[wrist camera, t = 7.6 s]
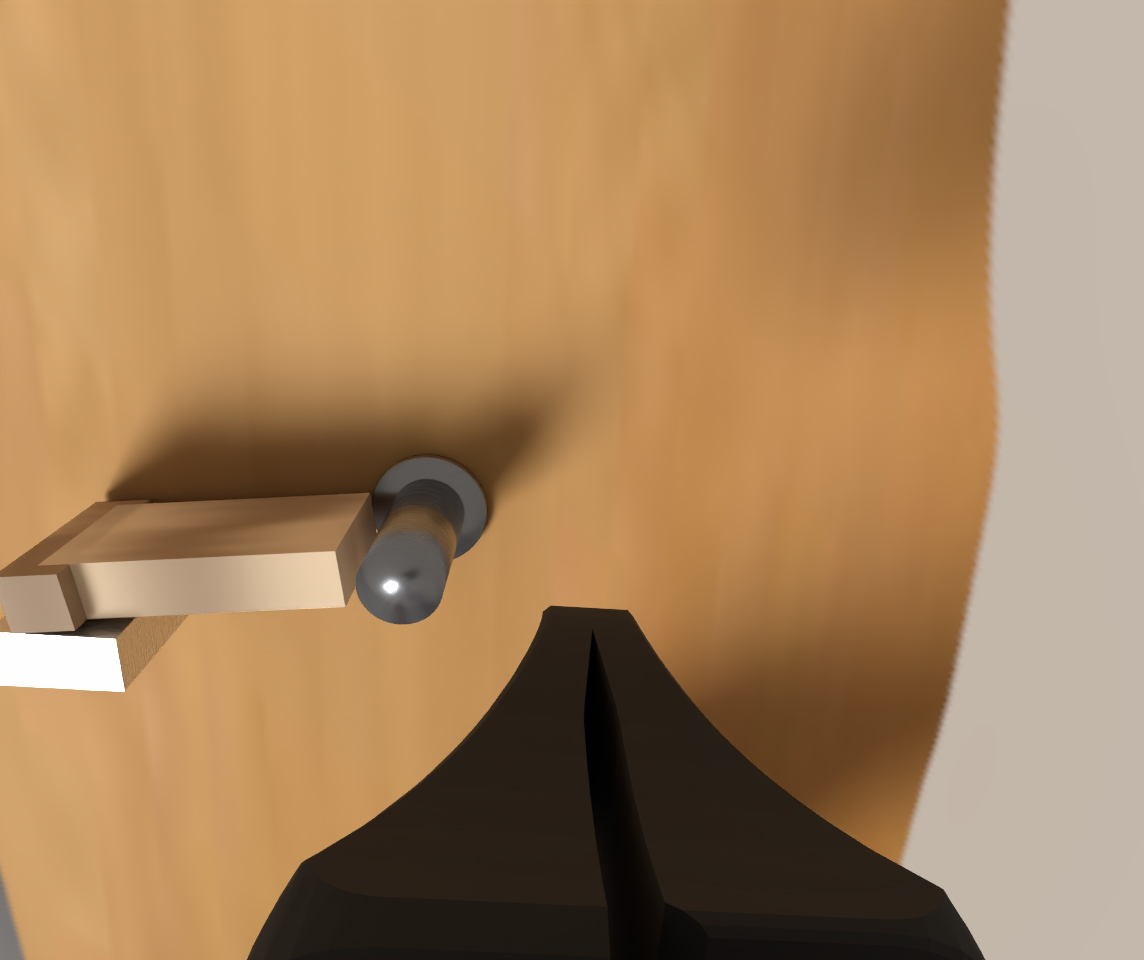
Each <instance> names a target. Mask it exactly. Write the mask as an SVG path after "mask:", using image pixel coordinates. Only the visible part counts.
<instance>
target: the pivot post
mask: <svg viewBox="0 0 1144 960" xmlns="http://www.w3.org/2000/svg"><path fill="white" fill-rule="evenodd" d="M372 508H373V514H374V520H375V526H376V529H377V530H378V533H377V535H376V537H375V539H374V541H373V543H372V544H371V546H370V548H369V550H368V552H367V554H366V556H365V558H364V560H363V562H362V564H361V566H360V568H359V570H358V573H357V576H356V591H357V595H358V597H359V599H360V601H361V603H362V604H363V605H364V607H365V608H366V609H367V610H368V611H369V612H370V613H371V614H373V615H374V616H376V617H377V618H379V619H381V620H383V621H386V622H389V623H394V624H411V623H416V622H419V621H421V620H423V619H425V618H427V617H428V616H430V615H431V614H432V613H433V612H434V611H435V610H436V609H437V607H438V605H439V604H440V601H441V599H442V595H443V592H444V588H445V585H446V581H447V578H448V574H449V571H450V567H451V564H452V560H453V559H454V558H457V557H459V556H461V555H463V554H464V553H466V552H467V551H468V550H470V549H471V548H472V547H473V546H474V545H475V543H476V542H477V541H478V539H479V538H480V536H481V534H482V532H483V530H484V526H485V522H486V518H487V502H486V497H485V494H484V491H483V489H482V487H481V485H480V483H479V482H478V480H477V479H476V477H475V476H474V475H473V474H472V473H471V472H470V471H469V470H468V469H467V468H465V467H464V466H462V465H461V464H459V463H458V462H456V461H454V460H451V459H449V458H446V457H442V456H438V455H416V456H412V457H408V458H406V459H403V460H401V461H399V462H398V463H396V464H394V465H393V466H392V467H390V468H389V469H388V470H387V471H386V472H385V474H384V475H383V476H382V478H381V479H380V481H379V483H378V485H377V486H376V488H375V491H374V494H373V498H372Z"/></svg>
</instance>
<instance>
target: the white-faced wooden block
mask: <svg viewBox="0 0 1144 960" xmlns="http://www.w3.org/2000/svg"><path fill="white" fill-rule="evenodd" d="M188 615H189V614H186V615H165V616H144V617H123V618H102V619H87V620H86V621H85V622H84V623H83V624H82V625H81V626H80V627H79V628H77V629H76V630H75V631H58V632H37V633H15V634H14V633H12V632H11V630H10V627H9V624H8V622H7V619H6V616H5V617H4V618H2V619H1V620H0V685H12V686H31V687H50V688H69V689H87V690H106V691H125V690H126V689H127V688H128V687H129V685H130V684H131V683H132V682H133V681H134V679H135V678H136V677H137V676H138V675H139V673H140V672H141V671H142V670H143V669H144V667H145V666H146V665H147V664H148V663H149V662H150V660H151V659H152V658H153V657H154V656H155V654H156V653H157V652H158V651H159V650H160V648H161V647H162V646H163V645H164V644H165V642H166V641H167V640H168V639H169V638H170V636H171V635H172V634H173V633H174V632H175V631H176V629H177V628H178V627H179V626H180V625H181V623H182V622H183V621H184V620H185V619H186V617H187V616H188Z"/></svg>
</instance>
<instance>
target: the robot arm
mask: <svg viewBox="0 0 1144 960" xmlns="http://www.w3.org/2000/svg"><path fill="white" fill-rule="evenodd" d="M247 960H985V959H984V957H983V954H982V952H981V951H980V949H979V947H978V945H977V943H976V942H975V940H974V938H973V936H972V935H971V933H970V931H969V929H968V927H967V926H966V924H965V923H964V921H963V920H962V918H961V917H960V915H959V914H958V912H957V910H956V909H955V907H954V906H953V904H952V903H951V901H950V900H949V898H948V896H947V895H946V893H945V891H944V890H943V889H941V888H940V887H938V886H936V885H935V884H933V883H931V882H929V881H927V880H925V879H924V878H922V877H920V876H918V875H916V874H915V873H913V872H911V871H909V870H907V869H906V868H904V867H902V866H900V865H898V864H896V863H895V862H893V861H891V860H889V859H887V858H886V857H884V856H882V855H880V854H878V853H876V852H875V851H873V850H871V849H869V848H868V847H866V846H865V845H863V844H861V843H860V842H858V841H857V840H855V839H854V838H852V837H851V836H849V835H847V834H846V833H844V832H843V831H841V830H840V829H838V828H837V827H835V826H834V825H832V824H830V823H829V822H827V821H826V820H824V819H823V818H822V817H820V816H819V815H817V814H816V813H815V812H813V811H812V810H810V809H809V808H807V807H806V806H805V805H803V804H802V803H801V802H799V801H798V800H797V799H795V798H794V797H793V796H792V795H790V794H789V793H788V792H786V791H785V790H784V789H783V788H781V787H780V786H779V785H777V784H776V783H775V782H774V781H772V780H771V779H770V778H769V777H767V776H766V775H765V774H764V773H763V772H761V771H760V770H759V769H758V768H757V767H756V766H754V765H753V764H752V763H751V762H750V761H749V760H748V759H747V758H746V757H745V756H744V755H742V754H741V753H740V752H739V751H738V750H737V749H736V748H735V747H734V746H733V745H732V744H731V743H730V742H729V741H728V740H727V739H726V738H724V737H723V736H722V735H721V734H720V732H719V731H718V730H717V729H716V728H715V727H714V726H713V725H712V724H711V723H710V722H709V720H708V719H707V718H706V717H705V716H704V715H703V713H702V712H701V711H700V710H699V709H698V708H697V707H696V705H695V704H694V703H693V702H692V701H691V699H690V698H689V697H688V696H687V694H686V693H685V692H684V691H683V689H682V688H681V687H680V685H679V684H678V683H677V681H676V680H675V679H674V677H673V676H672V675H671V673H670V672H669V671H668V669H667V668H666V667H665V665H664V664H663V662H662V661H661V660H660V658H659V657H658V655H657V654H656V652H655V651H654V649H653V648H652V646H651V645H650V643H649V642H648V640H647V639H646V637H645V635H644V634H643V632H642V631H641V629H640V627H639V626H638V624H637V622H636V620H635V619H634V617H633V616H632V615H631V614H630V612H629V611H628V610H616V609H599V608H581V607H564V606H550V607H548V608H547V609H546V610H545V611H543V615H542V620H541V623H540V625H539V628H538V631H537V633H536V635H535V637H534V639H533V641H532V643H531V645H530V647H529V649H528V651H527V653H526V655H525V656H524V658H523V660H522V661H521V663H520V665H519V666H518V668H517V670H516V672H515V673H514V675H513V676H512V678H511V680H510V681H509V683H508V684H507V685H506V687H505V688H504V690H503V691H502V692H501V694H500V695H499V696H498V698H497V699H496V701H495V702H494V703H493V705H492V706H491V708H490V709H489V710H488V712H487V713H486V714H485V715H484V716H483V718H482V719H481V720H480V721H479V723H478V724H477V725H476V726H475V727H474V729H473V730H472V731H471V732H470V733H469V734H468V735H467V736H466V737H465V739H464V740H463V741H462V742H461V743H460V744H459V745H458V746H457V747H456V748H455V749H454V750H453V751H452V752H451V753H450V754H449V755H448V756H447V757H446V758H445V759H444V760H443V761H442V762H441V763H440V764H439V765H438V766H437V767H436V768H435V769H434V770H433V771H432V772H431V773H429V774H428V775H427V776H426V777H425V778H424V779H423V780H422V781H421V782H419V783H418V784H417V785H416V786H415V787H414V788H412V789H411V790H410V791H408V792H407V793H406V794H405V795H403V796H402V797H401V798H399V799H398V800H397V801H396V802H394V803H393V804H392V805H390V806H389V807H388V808H386V809H385V810H384V811H383V812H381V813H380V814H379V815H377V816H376V817H375V818H374V819H372V820H371V821H369V822H368V823H366V824H365V825H364V826H362V827H361V828H359V829H357V830H356V831H354V832H352V833H351V834H349V835H347V836H346V837H344V838H342V839H341V840H339V841H337V842H336V843H334V844H332V845H331V846H329V847H328V848H326V849H324V850H323V851H321V852H319V853H318V854H316V855H314V856H312V857H310V858H308V859H307V860H305V861H304V862H302V863H301V864H300V866H299V867H298V869H297V870H296V872H295V873H294V875H293V877H292V878H291V880H290V881H289V883H288V885H287V886H286V888H285V889H284V891H283V893H282V894H281V896H280V897H279V899H278V901H277V903H276V904H275V906H274V908H273V910H272V912H271V913H270V915H269V917H268V919H267V920H266V922H265V924H264V926H263V928H262V930H261V932H260V933H259V935H258V937H257V939H256V941H255V943H254V945H253V947H252V949H251V952H250V954H249V956H248V959H247Z"/></svg>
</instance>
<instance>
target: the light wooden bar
mask: <svg viewBox="0 0 1144 960" xmlns="http://www.w3.org/2000/svg"><path fill="white" fill-rule="evenodd" d="M376 535H377V533H376V527H375V520H374V514H373V508H372V502H371V495H370V493H353V494H333V495H313V496H293V497H272V498H252V499H232V500H212V501H191V502H171V503H150V500H130V501H109V502H96V503H94V504H93V505H91V506H90V507H89V508H87V509H86V510H84V511H83V512H82V513H80V514H79V515H78V516H76V517H75V518H73V519H72V520H71V521H69V522H68V523H66V524H65V525H64V526H62V527H61V528H59V529H58V530H57V531H55V532H54V533H52V534H51V535H50V536H48V537H47V538H46V539H44V540H43V541H41V542H40V543H39V544H37V545H36V546H34V547H33V548H32V549H30V550H29V551H27V552H26V553H25V554H23V555H22V556H20V557H19V558H18V559H16V560H15V561H13V562H12V563H11V564H9V565H8V566H7V567H5V568H4V569H2V570H1V571H0V603H1V605H2V608H3V611H4V614H5V616H6V619H7V622H8V624H9V627H10V630H11V632H12V633H14V634H15V633H37V632H58V631H75V630H76V629H77V628H79V627H80V626H81V625H82V624H83V623H84V622H85V621H86V620H87V619H102V618H123V617H144V616H165V615H186V614H207V613H228V612H249V611H270V610H291V609H312V608H333V607H346V605H347V603H348V601H349V599H350V597H351V595H352V593H353V591H354V589H355V587H356V576H357V573H358V570H359V568H360V566H361V564H362V562H363V560H364V558H365V556H366V554H367V552H368V550H369V548H370V546H371V544H372V543H373V541H374V539H375V537H376Z"/></svg>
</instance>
